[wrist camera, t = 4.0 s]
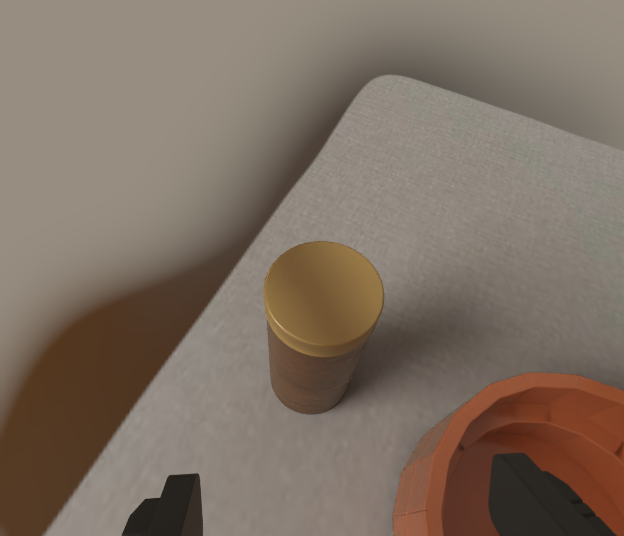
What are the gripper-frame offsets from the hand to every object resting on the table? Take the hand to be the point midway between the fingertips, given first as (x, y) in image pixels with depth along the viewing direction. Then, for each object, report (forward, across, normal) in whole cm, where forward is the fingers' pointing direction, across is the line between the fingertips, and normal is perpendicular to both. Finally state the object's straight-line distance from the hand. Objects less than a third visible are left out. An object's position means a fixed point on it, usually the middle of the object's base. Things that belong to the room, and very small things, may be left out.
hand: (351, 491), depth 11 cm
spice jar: (+13, 0, -3) cm, 13 cm away
